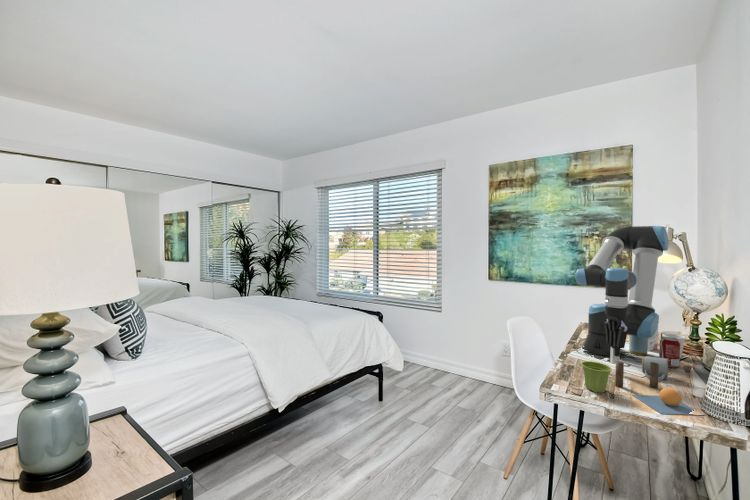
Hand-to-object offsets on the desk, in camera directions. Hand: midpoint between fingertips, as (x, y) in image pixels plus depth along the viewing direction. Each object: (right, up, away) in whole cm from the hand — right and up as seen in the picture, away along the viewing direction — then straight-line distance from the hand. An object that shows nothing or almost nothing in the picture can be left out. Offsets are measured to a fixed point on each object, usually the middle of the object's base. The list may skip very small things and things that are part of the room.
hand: (614, 362), depth 141 cm
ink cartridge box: (+39, -4, +33) cm, 51 cm away
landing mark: (-2, -5, -27) cm, 28 cm away
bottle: (+29, -4, +25) cm, 39 cm away
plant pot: (-18, -5, -16) cm, 24 cm away
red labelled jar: (+30, -4, +9) cm, 32 cm away
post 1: (-7, -4, -13) cm, 16 cm away
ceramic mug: (+14, -5, -4) cm, 15 cm away
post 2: (+5, -5, -14) cm, 15 cm away
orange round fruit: (-1, -2, -27) cm, 28 cm away
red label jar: (+42, -4, +20) cm, 47 cm away
